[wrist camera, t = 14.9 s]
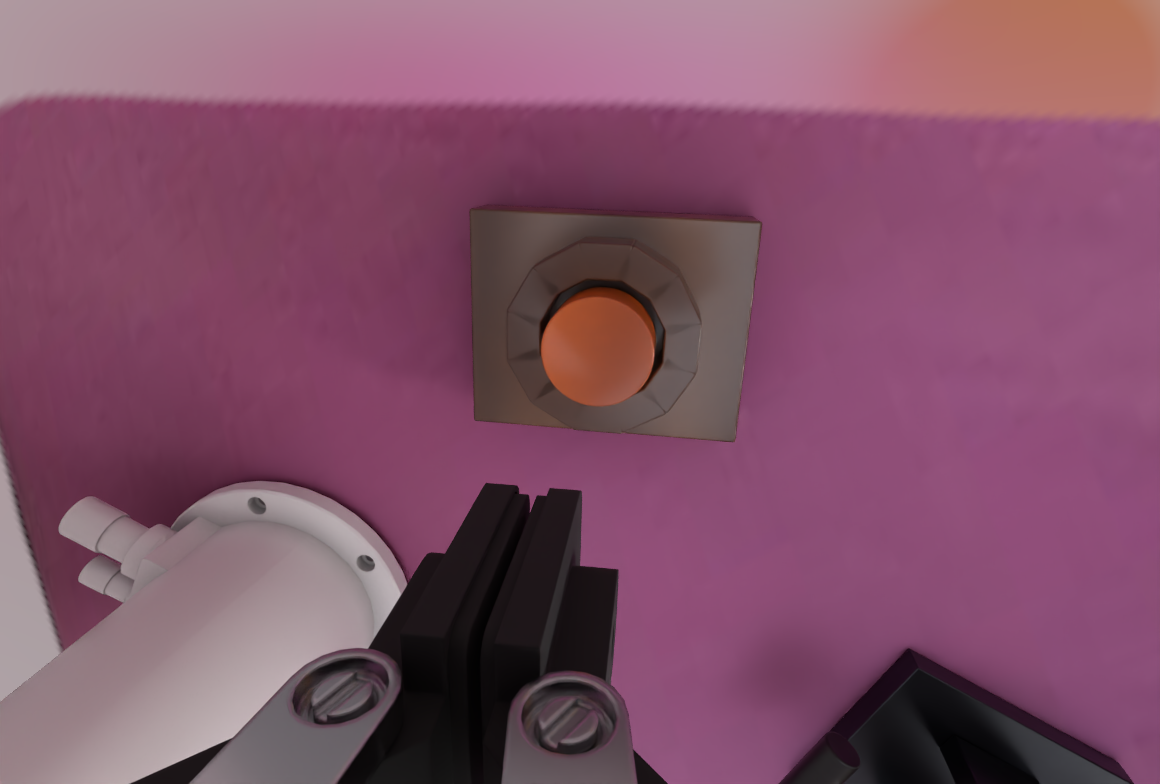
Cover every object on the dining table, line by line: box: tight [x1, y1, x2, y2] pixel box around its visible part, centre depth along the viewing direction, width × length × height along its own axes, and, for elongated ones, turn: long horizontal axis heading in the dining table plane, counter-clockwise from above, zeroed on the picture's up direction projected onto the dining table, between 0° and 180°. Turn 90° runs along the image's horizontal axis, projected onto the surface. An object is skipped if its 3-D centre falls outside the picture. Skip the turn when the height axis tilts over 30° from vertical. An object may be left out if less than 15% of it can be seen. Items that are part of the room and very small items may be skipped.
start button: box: [541, 287, 656, 407], centre depth 21 cm, size 4×4×2 cm
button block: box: [470, 205, 762, 442], centre depth 24 cm, size 10×8×4 cm
